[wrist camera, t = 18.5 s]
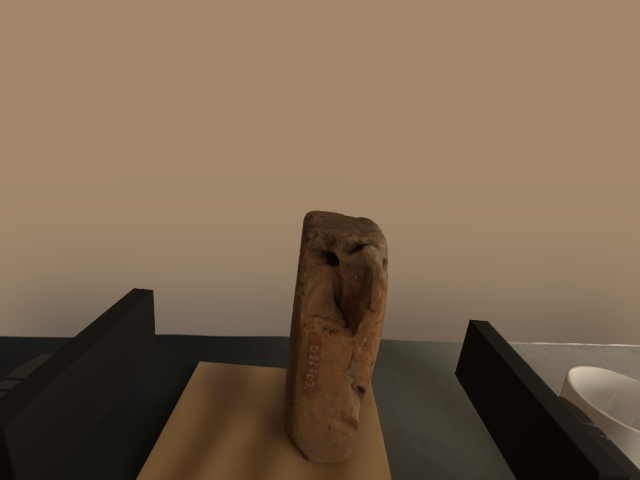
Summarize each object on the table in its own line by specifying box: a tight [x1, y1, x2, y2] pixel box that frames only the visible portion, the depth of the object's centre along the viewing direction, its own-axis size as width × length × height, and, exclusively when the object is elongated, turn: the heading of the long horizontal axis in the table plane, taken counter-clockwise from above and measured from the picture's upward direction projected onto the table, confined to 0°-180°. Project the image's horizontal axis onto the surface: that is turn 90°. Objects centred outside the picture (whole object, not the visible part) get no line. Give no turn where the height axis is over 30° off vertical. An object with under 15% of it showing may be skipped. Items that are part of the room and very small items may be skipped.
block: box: [283, 211, 388, 464], centre depth 29 cm, size 11×8×20 cm
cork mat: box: [136, 362, 392, 480], centre depth 32 cm, size 20×14×1 cm
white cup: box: [560, 366, 640, 469], centre depth 27 cm, size 8×8×10 cm
